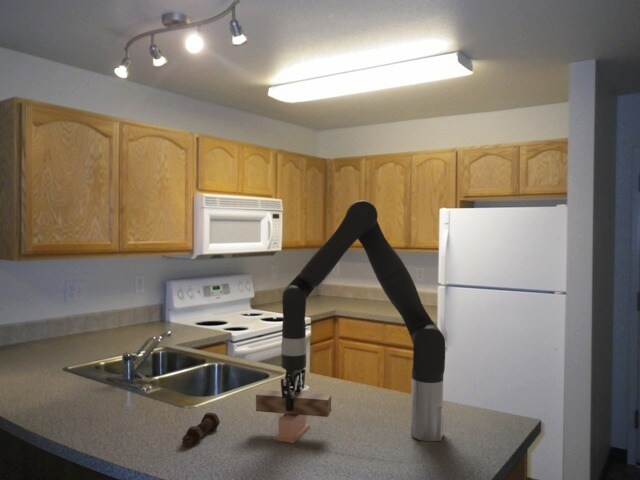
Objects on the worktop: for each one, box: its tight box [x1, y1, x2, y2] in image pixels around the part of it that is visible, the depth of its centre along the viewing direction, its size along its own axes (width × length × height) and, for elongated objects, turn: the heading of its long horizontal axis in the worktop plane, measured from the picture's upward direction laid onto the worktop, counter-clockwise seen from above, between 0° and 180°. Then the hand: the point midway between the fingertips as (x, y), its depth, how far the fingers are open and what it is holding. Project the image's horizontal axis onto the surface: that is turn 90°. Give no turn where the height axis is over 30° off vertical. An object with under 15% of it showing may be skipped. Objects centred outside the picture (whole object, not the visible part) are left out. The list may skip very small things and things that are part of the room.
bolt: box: [181, 412, 221, 447], centre depth 155 cm, size 6×5×15 cm
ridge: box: [274, 414, 311, 444], centre depth 159 cm, size 6×13×6 cm, turn 160°
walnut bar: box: [255, 389, 332, 418], centre depth 159 cm, size 22×5×5 cm, turn 78°
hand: (293, 407), depth 159 cm, fingers closed on walnut bar, 5 cm apart
